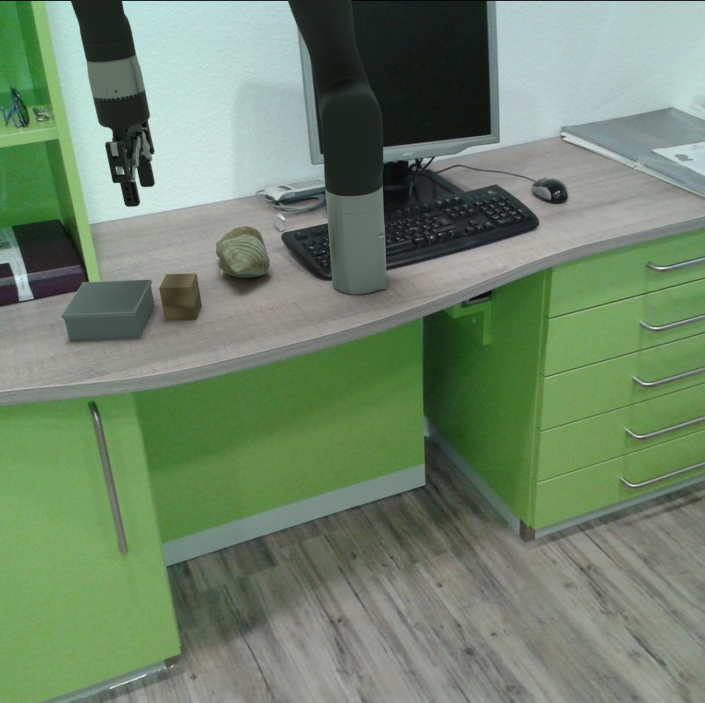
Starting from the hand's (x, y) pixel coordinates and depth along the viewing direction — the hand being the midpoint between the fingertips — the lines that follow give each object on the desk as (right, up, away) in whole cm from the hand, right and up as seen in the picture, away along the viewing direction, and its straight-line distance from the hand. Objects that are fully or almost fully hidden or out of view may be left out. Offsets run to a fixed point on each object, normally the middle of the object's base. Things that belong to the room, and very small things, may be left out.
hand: (140, 195), depth 128 cm
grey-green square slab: (-6, -20, +6) cm, 21 cm away
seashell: (+13, -10, +20) cm, 26 cm away
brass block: (+5, -18, +7) cm, 20 cm away
